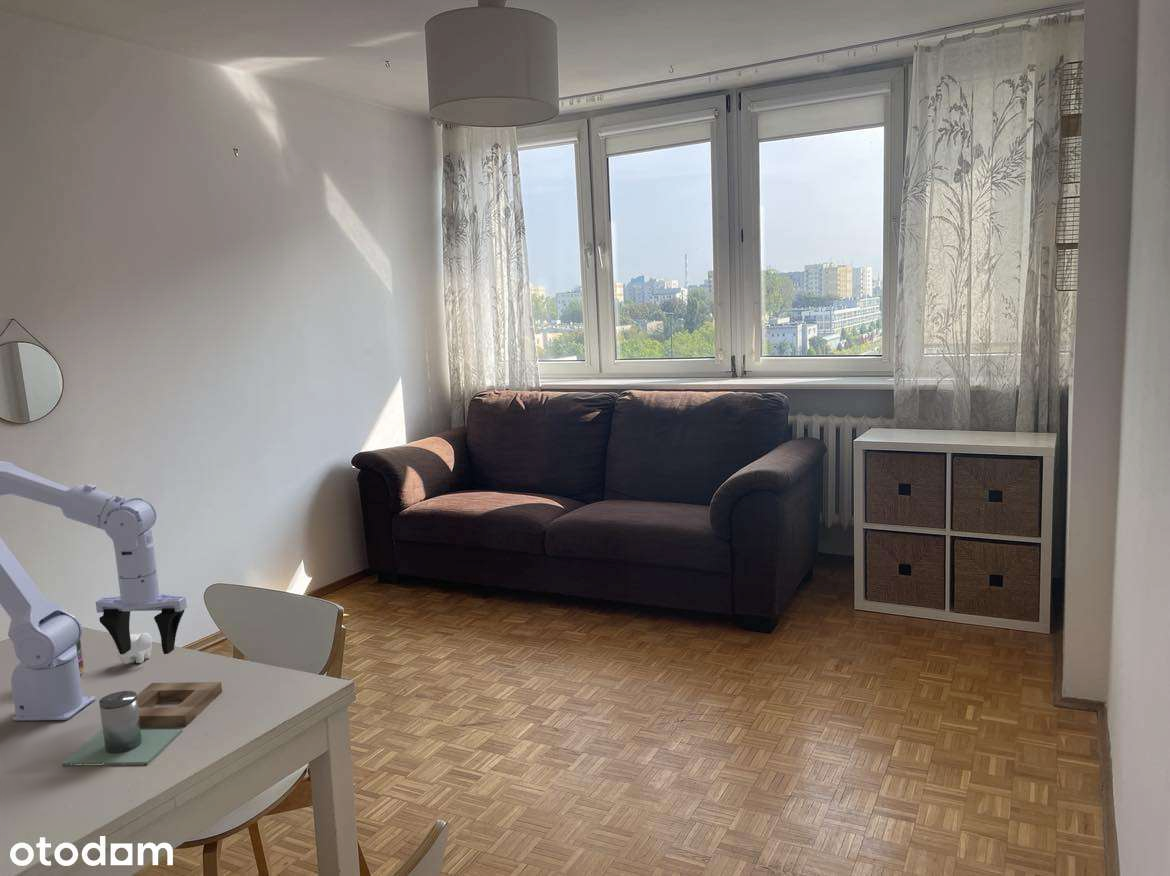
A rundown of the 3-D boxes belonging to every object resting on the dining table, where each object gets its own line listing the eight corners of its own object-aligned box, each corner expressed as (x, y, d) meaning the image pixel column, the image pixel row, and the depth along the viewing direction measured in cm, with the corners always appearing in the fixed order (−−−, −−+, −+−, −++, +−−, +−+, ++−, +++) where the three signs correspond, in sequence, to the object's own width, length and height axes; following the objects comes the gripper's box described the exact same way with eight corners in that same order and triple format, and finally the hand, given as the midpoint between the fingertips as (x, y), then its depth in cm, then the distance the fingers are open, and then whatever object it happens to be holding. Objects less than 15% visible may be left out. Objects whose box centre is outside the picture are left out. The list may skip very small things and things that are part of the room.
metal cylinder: (98, 753, 132) (91, 705, 131) (117, 737, 137) (111, 691, 136) (130, 753, 132) (124, 705, 131) (148, 737, 137) (142, 690, 136)
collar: (111, 726, 142) (109, 716, 141) (153, 692, 154) (151, 683, 154) (186, 726, 141) (185, 715, 141) (222, 691, 153) (221, 681, 153)
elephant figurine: (106, 670, 165) (102, 639, 164) (135, 652, 173) (131, 623, 172) (139, 671, 164) (135, 640, 163) (166, 653, 172) (163, 624, 171)
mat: (62, 765, 130) (62, 762, 130) (102, 732, 140) (102, 730, 140) (147, 764, 129) (147, 762, 129) (182, 731, 139) (182, 729, 139)
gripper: (80, 581, 142) (90, 661, 144) (166, 580, 141) (175, 661, 143) (106, 568, 149) (116, 645, 151) (189, 567, 148) (198, 644, 150)
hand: (147, 651), depth 148 cm, fingers open, 7 cm apart
